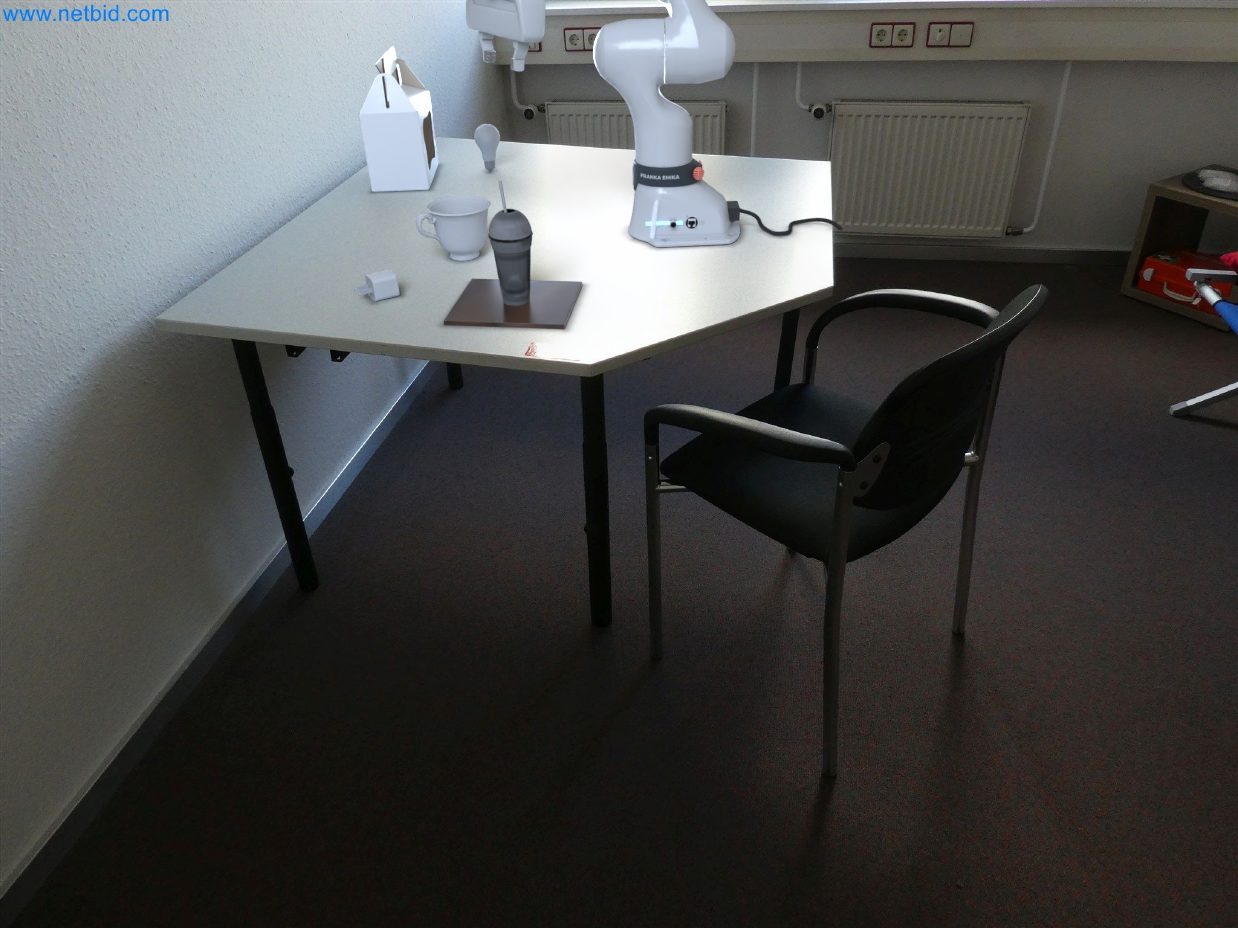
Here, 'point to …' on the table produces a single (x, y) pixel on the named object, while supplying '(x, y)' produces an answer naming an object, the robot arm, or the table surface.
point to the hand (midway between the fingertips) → (503, 66)
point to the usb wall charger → (380, 285)
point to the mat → (488, 308)
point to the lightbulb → (487, 144)
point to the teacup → (458, 224)
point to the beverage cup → (512, 253)
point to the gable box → (398, 129)
